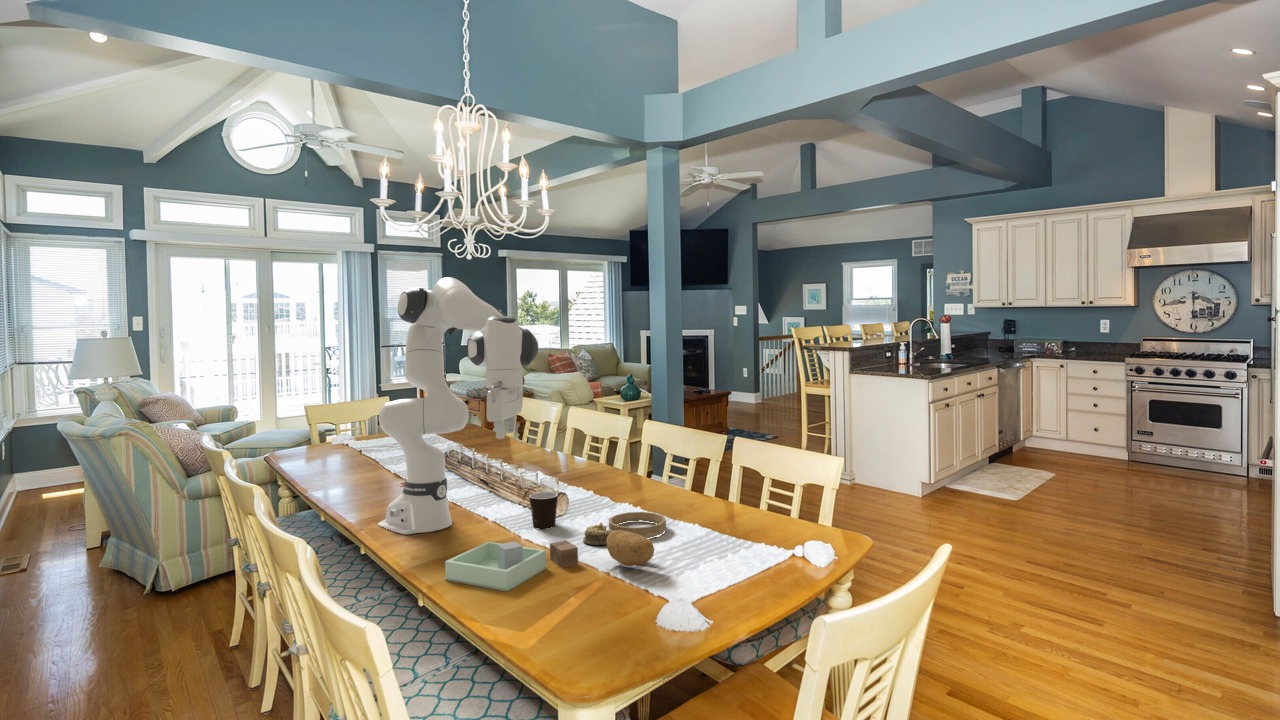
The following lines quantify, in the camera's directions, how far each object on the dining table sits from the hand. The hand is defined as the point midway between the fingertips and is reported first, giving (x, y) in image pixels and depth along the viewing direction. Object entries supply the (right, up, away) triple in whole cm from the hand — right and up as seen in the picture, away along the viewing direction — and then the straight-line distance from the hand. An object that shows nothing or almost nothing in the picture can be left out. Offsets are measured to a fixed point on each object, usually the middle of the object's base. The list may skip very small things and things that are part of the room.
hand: (505, 435), depth 161 cm
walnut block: (+12, -31, +6) cm, 34 cm away
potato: (+31, -33, 0) cm, 46 cm away
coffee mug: (+5, -32, +34) cm, 47 cm away
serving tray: (-1, -33, -5) cm, 34 cm away
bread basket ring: (+33, -32, +28) cm, 54 cm away
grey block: (+3, -33, -6) cm, 33 cm away
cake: (+23, -33, +20) cm, 44 cm away
